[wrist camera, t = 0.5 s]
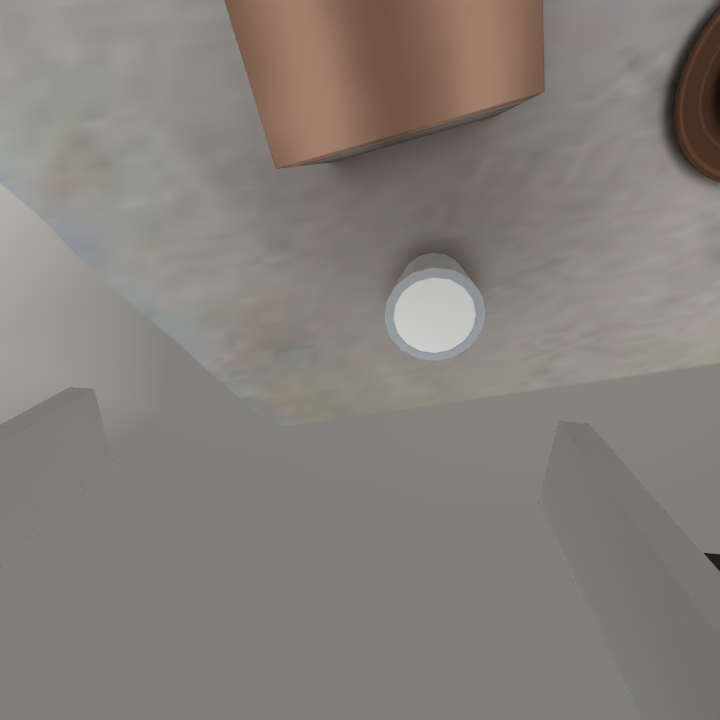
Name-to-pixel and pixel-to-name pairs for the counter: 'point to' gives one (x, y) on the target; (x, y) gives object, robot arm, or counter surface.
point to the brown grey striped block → (383, 69)
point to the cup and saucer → (701, 102)
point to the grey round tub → (434, 309)
